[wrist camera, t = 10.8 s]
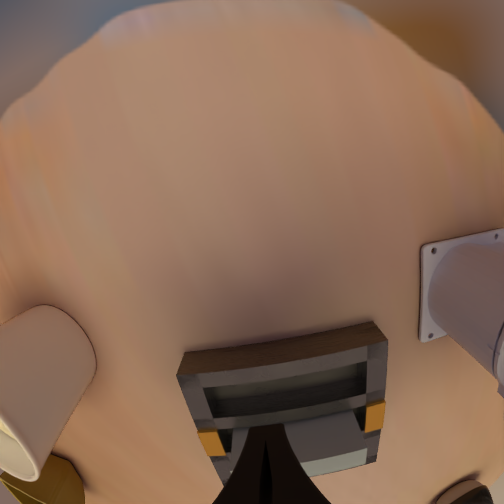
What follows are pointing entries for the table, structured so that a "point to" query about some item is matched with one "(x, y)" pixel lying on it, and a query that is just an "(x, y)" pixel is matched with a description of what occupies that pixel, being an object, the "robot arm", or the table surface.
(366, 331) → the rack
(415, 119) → the table surface
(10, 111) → the table surface
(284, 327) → the table surface
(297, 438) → the panel
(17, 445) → the candle holder
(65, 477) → the flower pot
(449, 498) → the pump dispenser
